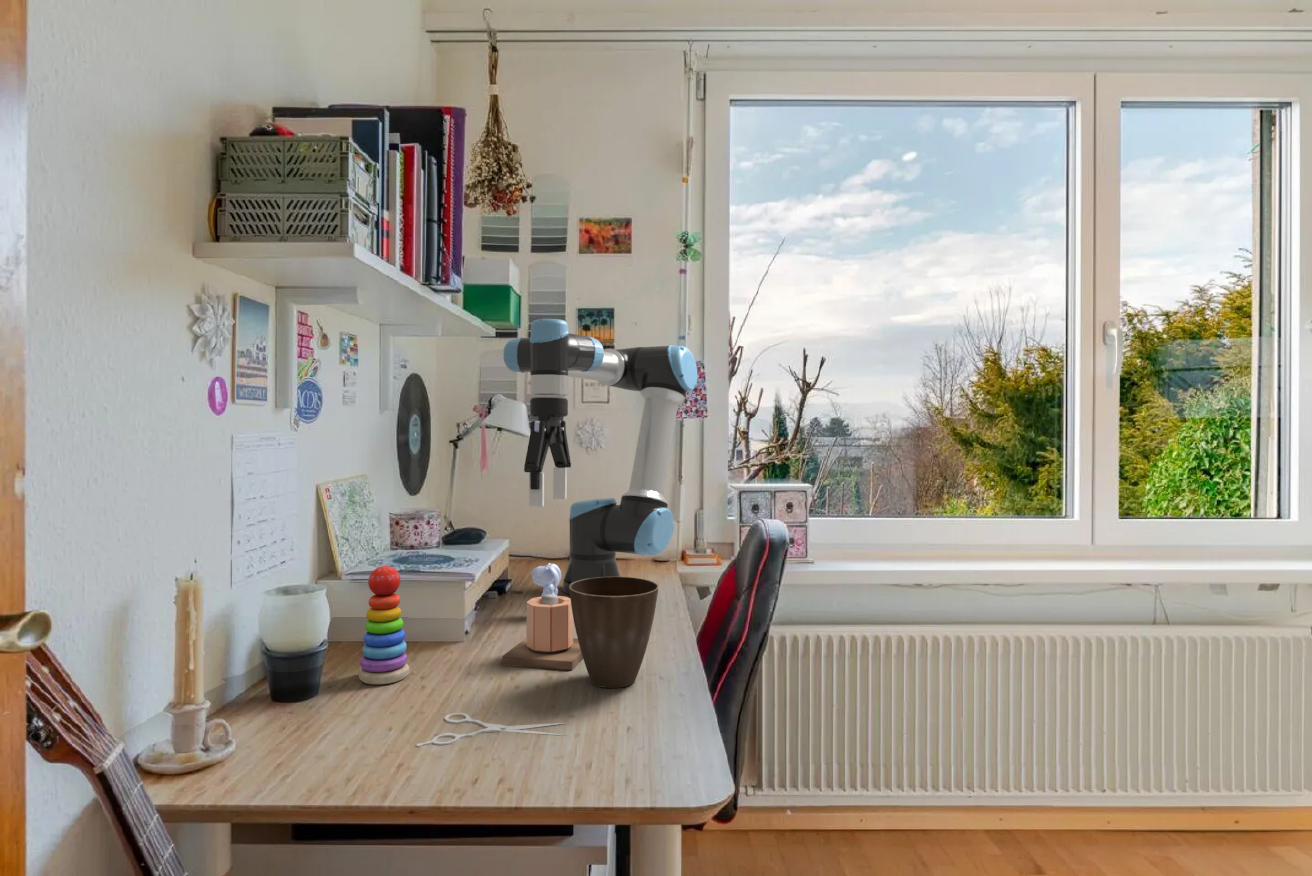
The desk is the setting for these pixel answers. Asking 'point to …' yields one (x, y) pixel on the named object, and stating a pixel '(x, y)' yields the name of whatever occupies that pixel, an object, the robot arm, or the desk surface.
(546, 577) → the toy figurine
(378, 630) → the stacking toy
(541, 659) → the post stand
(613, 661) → the plant pot
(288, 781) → the desk surface
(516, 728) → the scissors
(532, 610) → the ring
